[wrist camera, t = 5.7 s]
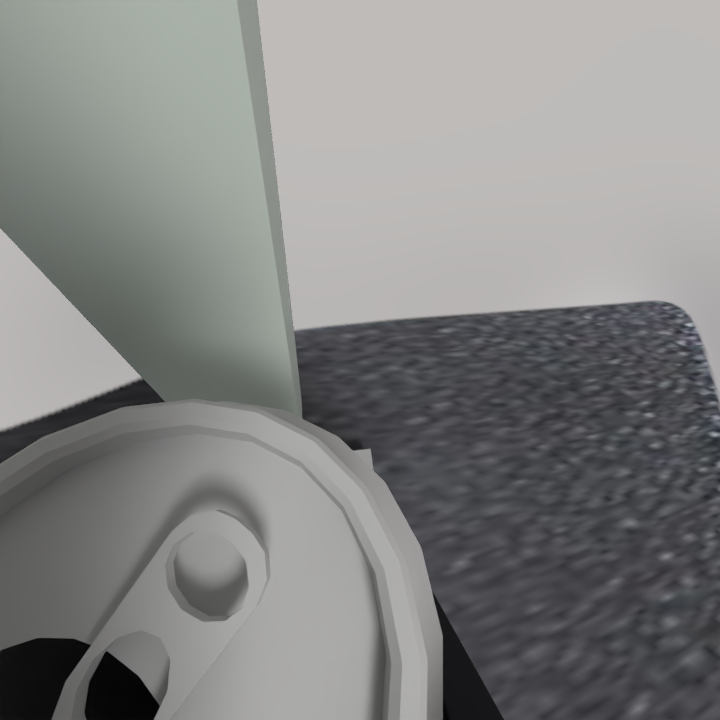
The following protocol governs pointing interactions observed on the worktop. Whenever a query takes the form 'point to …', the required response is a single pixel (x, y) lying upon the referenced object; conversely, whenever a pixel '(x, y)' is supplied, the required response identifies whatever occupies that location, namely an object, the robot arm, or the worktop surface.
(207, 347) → the press frame
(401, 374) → the worktop surface
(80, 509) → the can
